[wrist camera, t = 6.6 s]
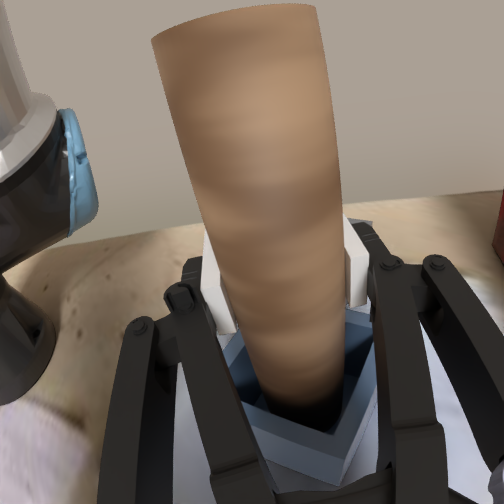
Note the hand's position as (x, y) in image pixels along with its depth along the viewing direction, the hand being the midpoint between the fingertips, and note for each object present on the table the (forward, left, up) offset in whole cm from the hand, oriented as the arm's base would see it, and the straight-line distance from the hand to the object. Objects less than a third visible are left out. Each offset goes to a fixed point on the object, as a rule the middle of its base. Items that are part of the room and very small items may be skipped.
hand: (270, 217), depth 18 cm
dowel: (+3, -4, -12) cm, 13 cm away
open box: (+3, -4, -13) cm, 14 cm away
